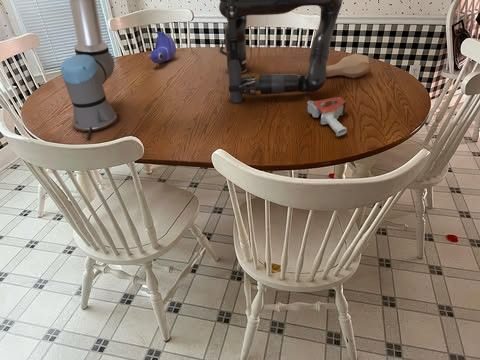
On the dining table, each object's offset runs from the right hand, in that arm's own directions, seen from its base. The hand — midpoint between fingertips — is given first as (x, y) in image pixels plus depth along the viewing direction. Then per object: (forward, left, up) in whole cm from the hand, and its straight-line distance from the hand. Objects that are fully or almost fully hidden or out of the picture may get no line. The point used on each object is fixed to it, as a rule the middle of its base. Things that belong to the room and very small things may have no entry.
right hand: (229, 86), depth 140 cm
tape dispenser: (+22, +35, -6) cm, 42 cm away
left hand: (0, +3, +11) cm, 12 cm away
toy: (-53, -36, -6) cm, 64 cm away
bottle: (0, +3, -6) cm, 7 cm away
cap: (0, +3, +13) cm, 13 cm away
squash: (-21, +51, -6) cm, 56 cm away
